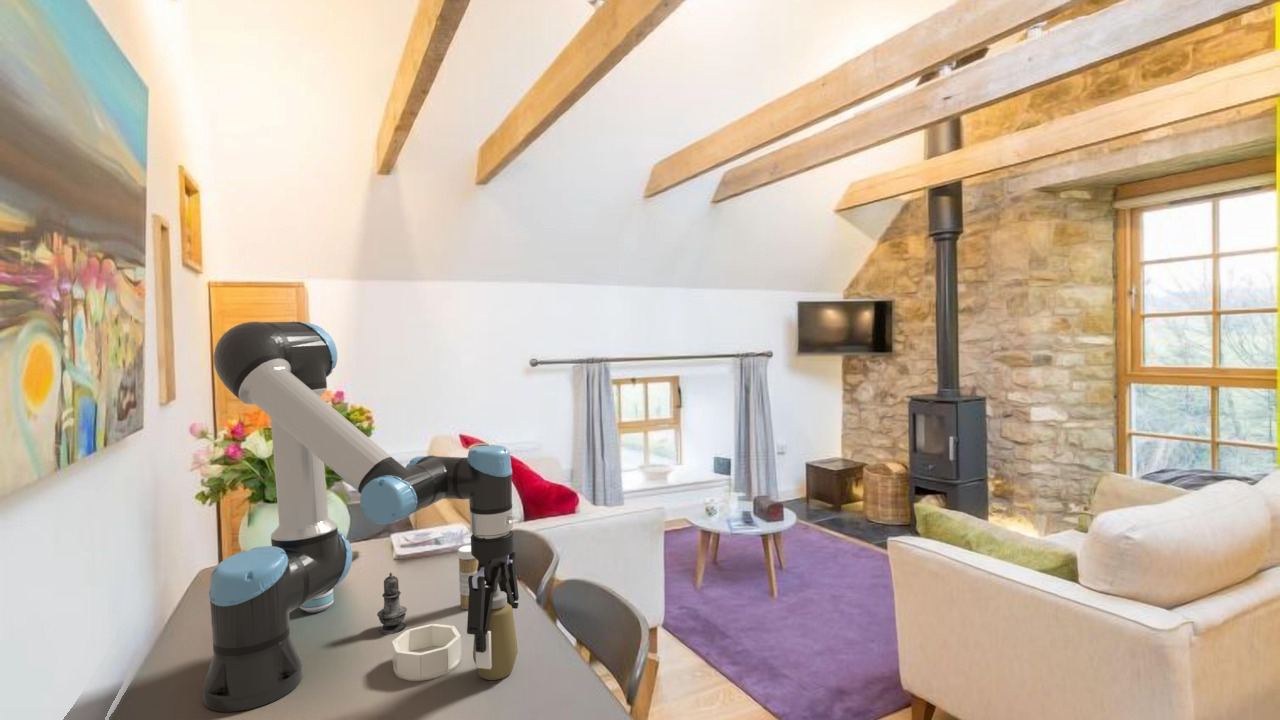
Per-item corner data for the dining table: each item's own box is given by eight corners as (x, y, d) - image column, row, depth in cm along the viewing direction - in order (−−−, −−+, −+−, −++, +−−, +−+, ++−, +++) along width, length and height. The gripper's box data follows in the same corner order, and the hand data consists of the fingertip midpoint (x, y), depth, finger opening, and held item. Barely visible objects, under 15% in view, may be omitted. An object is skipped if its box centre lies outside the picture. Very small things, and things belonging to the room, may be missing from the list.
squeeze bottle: (499, 656, 124) (497, 564, 123) (527, 670, 119) (525, 574, 118) (464, 674, 118) (461, 577, 117) (492, 689, 113) (489, 588, 112)
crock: (400, 688, 114) (399, 661, 113) (388, 658, 124) (387, 634, 124) (468, 668, 120) (467, 643, 119) (451, 642, 130) (450, 618, 130)
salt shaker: (397, 635, 133) (395, 578, 133) (371, 633, 134) (369, 576, 134) (413, 623, 139) (411, 568, 138) (388, 621, 140) (386, 566, 140)
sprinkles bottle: (475, 600, 150) (473, 543, 149) (484, 606, 147) (482, 548, 146) (456, 605, 147) (454, 547, 147) (464, 612, 144) (463, 552, 143)
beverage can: (331, 599, 152) (329, 549, 151) (335, 609, 146) (333, 557, 146) (298, 606, 148) (296, 555, 148) (301, 617, 143) (299, 564, 142)
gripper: (482, 553, 106) (486, 688, 107) (534, 516, 126) (537, 631, 127) (441, 550, 108) (446, 683, 109) (499, 514, 128) (502, 627, 129)
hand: (495, 654), depth 118 cm, fingers closed on squeeze bottle, 8 cm apart
